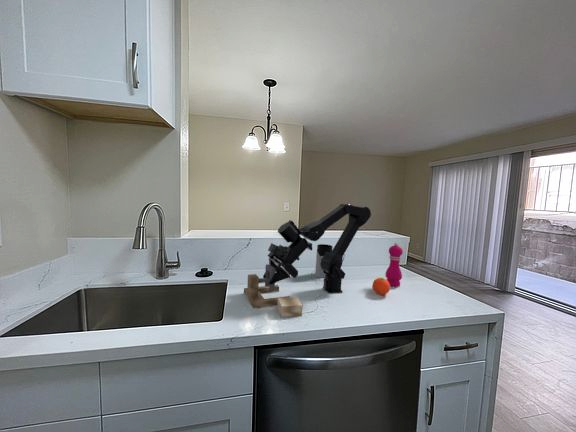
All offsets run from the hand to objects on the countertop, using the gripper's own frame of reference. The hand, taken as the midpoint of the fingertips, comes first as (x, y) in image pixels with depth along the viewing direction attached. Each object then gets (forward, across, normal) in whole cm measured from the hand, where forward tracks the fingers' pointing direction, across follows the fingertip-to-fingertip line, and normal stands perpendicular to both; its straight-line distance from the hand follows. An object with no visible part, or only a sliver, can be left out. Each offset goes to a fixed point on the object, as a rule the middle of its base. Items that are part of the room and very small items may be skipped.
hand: (266, 280), depth 96 cm
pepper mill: (-39, +2, +49) cm, 62 cm away
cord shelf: (+4, 0, +6) cm, 7 cm away
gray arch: (+1, 0, +3) cm, 3 cm away
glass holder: (-23, -18, +33) cm, 43 cm away
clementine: (-28, +9, +39) cm, 49 cm away
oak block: (+2, +13, +8) cm, 15 cm away
